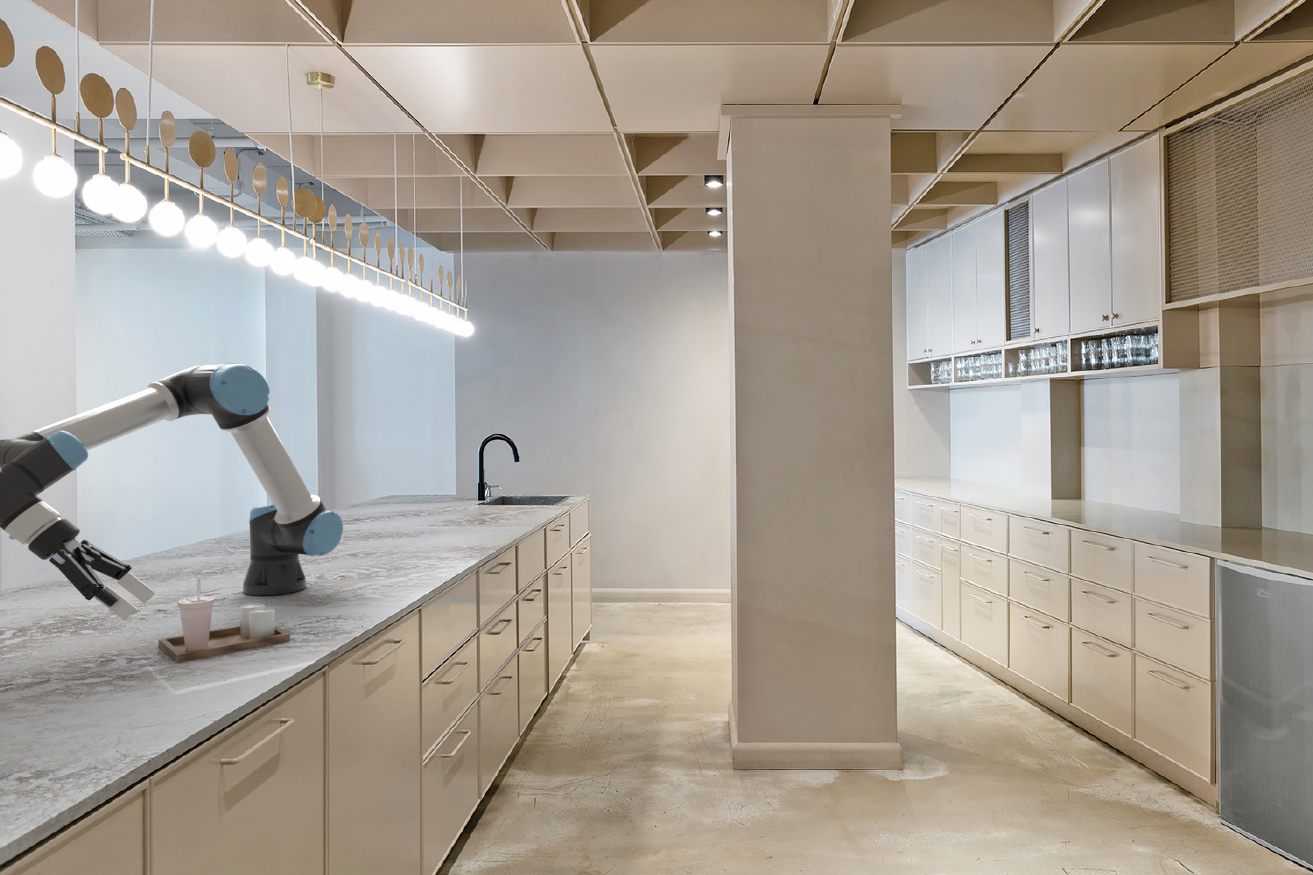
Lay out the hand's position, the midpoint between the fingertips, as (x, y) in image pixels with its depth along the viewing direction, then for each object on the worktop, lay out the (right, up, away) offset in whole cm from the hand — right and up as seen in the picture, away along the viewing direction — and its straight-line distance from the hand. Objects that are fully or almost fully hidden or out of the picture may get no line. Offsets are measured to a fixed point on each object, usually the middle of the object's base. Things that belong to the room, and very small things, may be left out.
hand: (141, 606), depth 146 cm
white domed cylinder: (+18, -9, +9) cm, 22 cm away
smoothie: (+9, -9, +4) cm, 13 cm away
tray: (+12, -10, +7) cm, 17 cm away
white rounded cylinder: (+14, -9, +13) cm, 22 cm away
